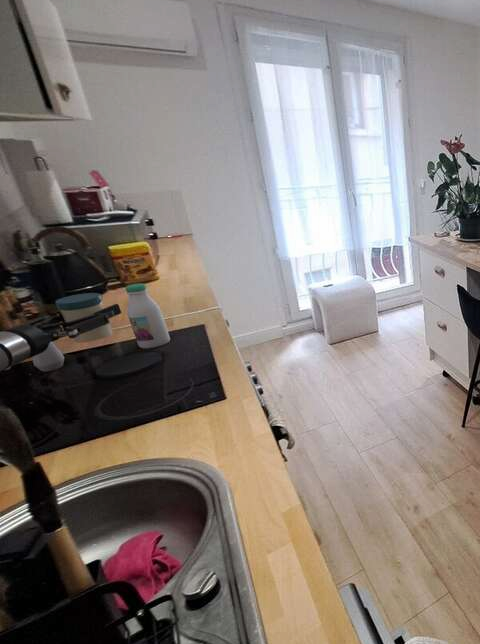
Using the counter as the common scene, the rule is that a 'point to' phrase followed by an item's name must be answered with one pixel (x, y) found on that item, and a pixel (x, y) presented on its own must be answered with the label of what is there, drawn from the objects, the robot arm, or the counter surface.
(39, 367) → the salt shaker
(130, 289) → the milk bottle
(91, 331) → the jar
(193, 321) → the counter surface
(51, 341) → the robot arm
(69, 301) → the lid
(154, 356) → the trivet
